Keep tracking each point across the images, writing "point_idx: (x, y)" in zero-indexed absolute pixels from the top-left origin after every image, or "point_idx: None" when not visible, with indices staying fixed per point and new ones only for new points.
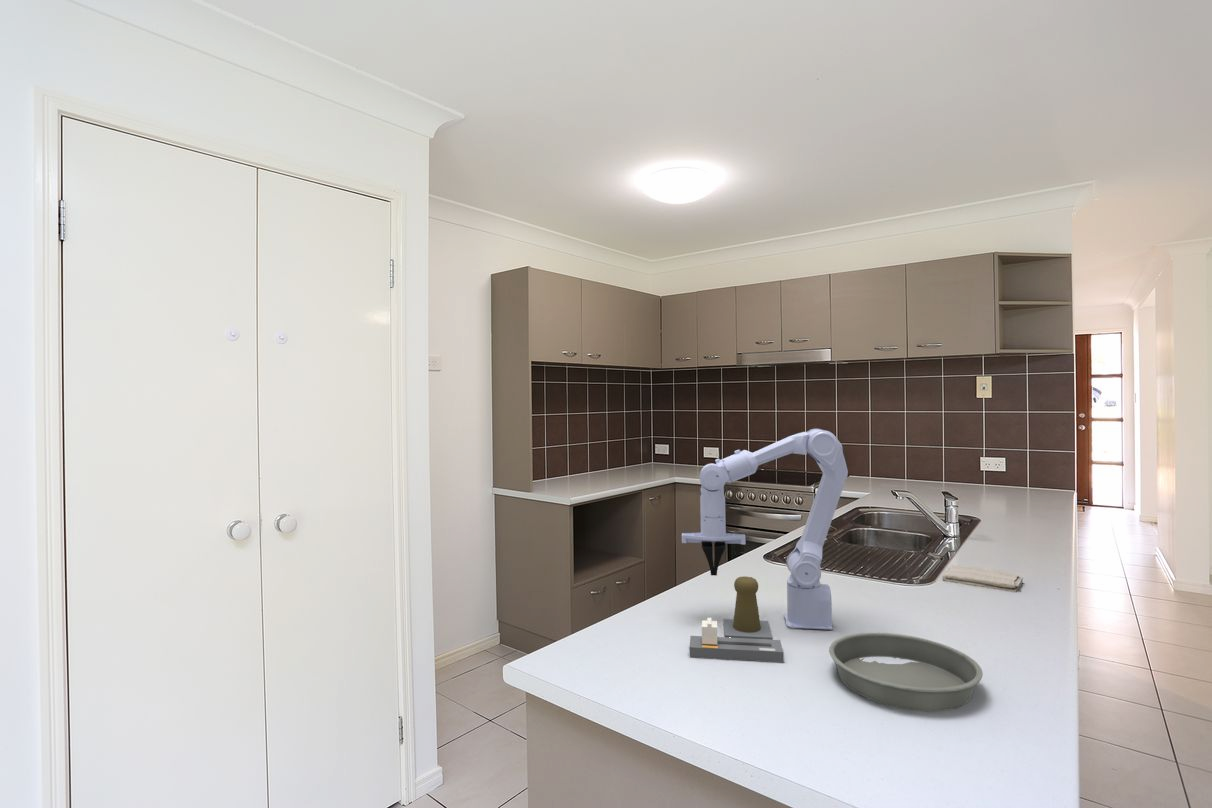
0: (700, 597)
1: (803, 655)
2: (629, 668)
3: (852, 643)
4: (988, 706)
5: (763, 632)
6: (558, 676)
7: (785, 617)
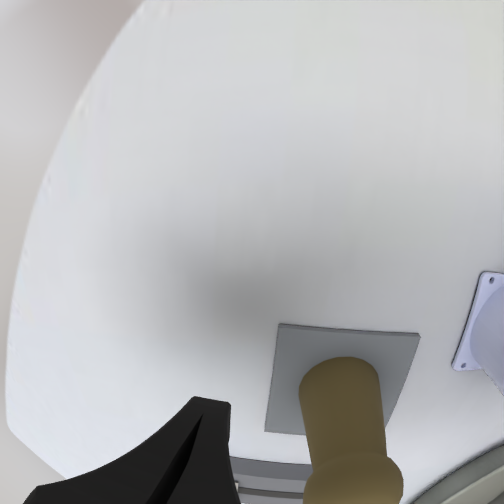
0: (212, 63)
1: (403, 472)
2: None
3: (478, 475)
4: None
5: None
6: (53, 464)
7: (475, 307)
